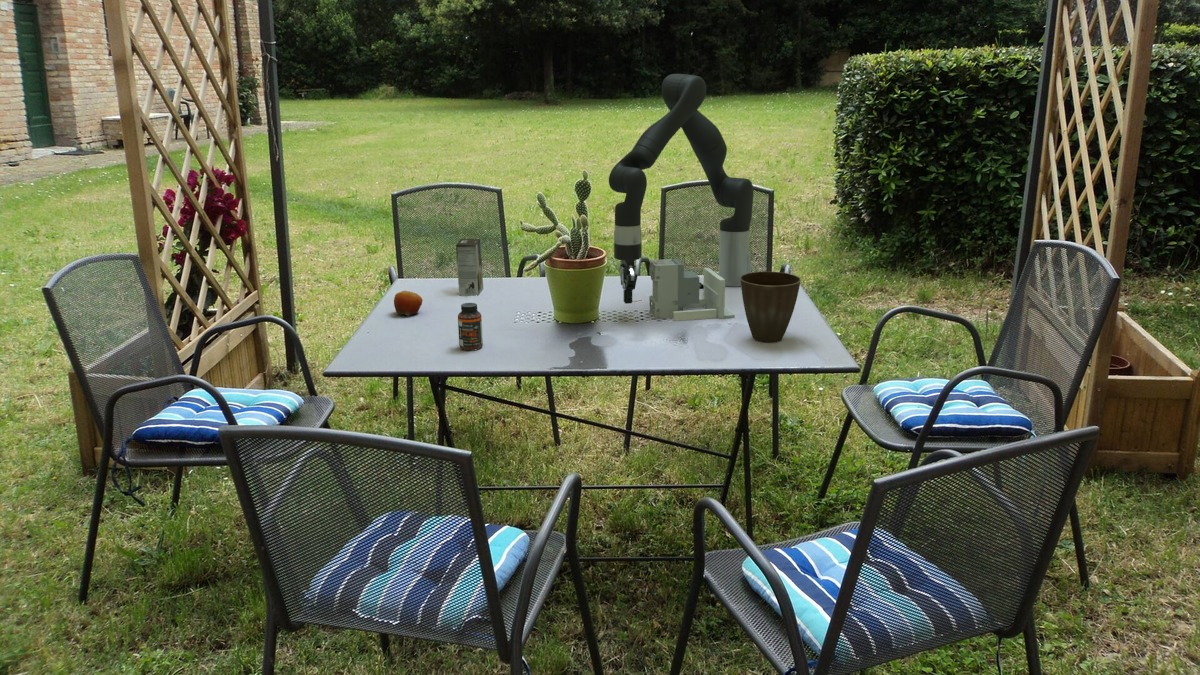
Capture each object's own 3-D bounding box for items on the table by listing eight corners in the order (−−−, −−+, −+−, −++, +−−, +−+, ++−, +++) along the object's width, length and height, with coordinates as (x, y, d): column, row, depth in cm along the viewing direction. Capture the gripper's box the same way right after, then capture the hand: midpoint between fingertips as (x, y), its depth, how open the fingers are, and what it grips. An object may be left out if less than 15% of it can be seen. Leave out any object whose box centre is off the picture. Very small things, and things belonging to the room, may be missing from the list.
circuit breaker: (704, 315, 258) (705, 263, 254) (654, 318, 256) (654, 266, 252) (698, 308, 265) (698, 257, 261) (649, 311, 263) (649, 260, 259)
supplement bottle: (461, 352, 231) (458, 308, 227) (457, 345, 236) (455, 302, 233) (485, 349, 232) (482, 306, 229) (481, 342, 238) (478, 300, 235)
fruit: (385, 313, 261) (390, 286, 263) (398, 321, 268) (403, 294, 270) (411, 315, 259) (416, 288, 260) (423, 323, 266) (428, 296, 268)
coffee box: (463, 288, 293) (460, 238, 288) (483, 288, 293) (481, 238, 288) (458, 296, 284) (455, 244, 279) (479, 295, 284) (476, 244, 279)
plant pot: (806, 335, 239) (810, 275, 234) (783, 351, 227) (786, 288, 222) (753, 327, 247) (755, 269, 242) (728, 341, 235) (730, 280, 230)
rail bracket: (718, 304, 270) (718, 267, 267) (734, 317, 256) (735, 279, 252) (661, 307, 267) (662, 270, 264) (675, 322, 253) (675, 282, 250)
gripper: (647, 245, 246) (646, 308, 251) (635, 236, 258) (635, 296, 263) (619, 246, 244) (619, 309, 249) (609, 237, 257) (609, 297, 262)
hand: (627, 302), depth 256 cm, fingers closed
